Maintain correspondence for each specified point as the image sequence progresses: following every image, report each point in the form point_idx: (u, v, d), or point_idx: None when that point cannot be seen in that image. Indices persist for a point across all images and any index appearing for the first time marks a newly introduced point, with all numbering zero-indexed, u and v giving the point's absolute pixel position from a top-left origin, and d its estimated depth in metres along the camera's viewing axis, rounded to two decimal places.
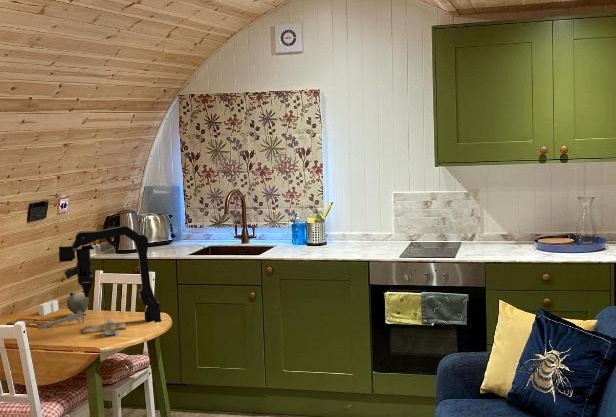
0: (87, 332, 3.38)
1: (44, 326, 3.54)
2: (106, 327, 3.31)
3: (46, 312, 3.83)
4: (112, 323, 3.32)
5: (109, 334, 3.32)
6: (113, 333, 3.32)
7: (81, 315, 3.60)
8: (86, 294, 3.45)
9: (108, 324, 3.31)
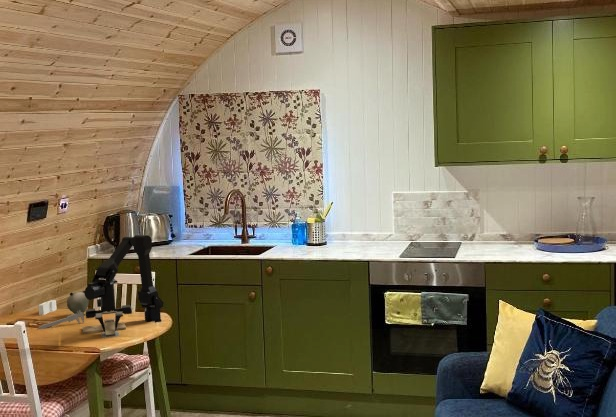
0: (87, 332, 3.38)
1: (44, 326, 3.54)
2: (106, 327, 3.31)
3: (45, 312, 3.83)
4: (112, 323, 3.32)
5: (109, 334, 3.32)
6: (113, 333, 3.32)
7: (81, 315, 3.60)
8: (103, 329, 3.34)
9: (108, 324, 3.31)
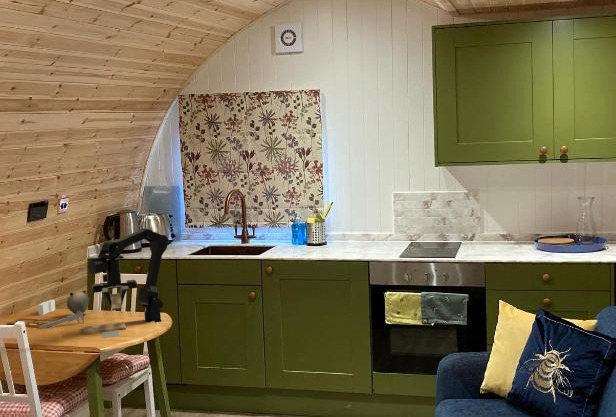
0: (87, 332, 3.38)
1: (44, 326, 3.54)
2: (112, 301, 3.40)
3: (45, 312, 3.84)
4: (118, 297, 3.41)
5: (115, 308, 3.41)
6: (119, 307, 3.41)
7: (81, 315, 3.60)
8: None
9: (114, 298, 3.40)
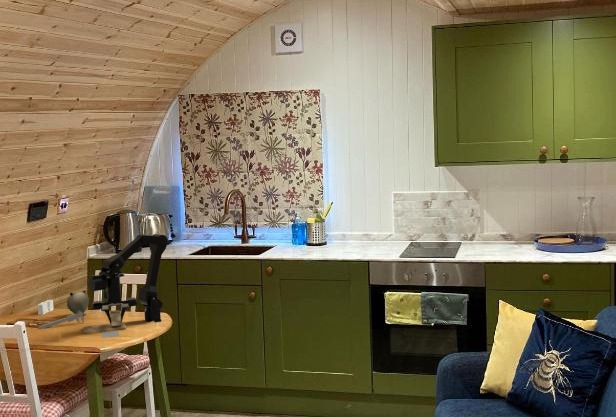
0: (87, 332, 3.38)
1: (44, 326, 3.54)
2: (112, 318, 3.42)
3: (44, 311, 3.84)
4: (118, 314, 3.43)
5: (115, 325, 3.43)
6: (119, 324, 3.43)
7: (81, 315, 3.60)
8: (109, 320, 3.46)
9: (114, 315, 3.43)
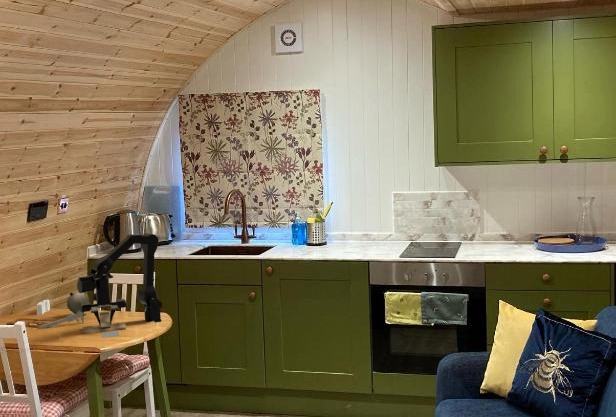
0: (87, 332, 3.38)
1: (43, 326, 3.54)
2: (101, 319, 3.41)
3: (43, 311, 3.85)
4: (107, 316, 3.42)
5: (104, 326, 3.42)
6: (108, 325, 3.42)
7: (81, 315, 3.60)
8: (98, 322, 3.44)
9: (103, 317, 3.41)
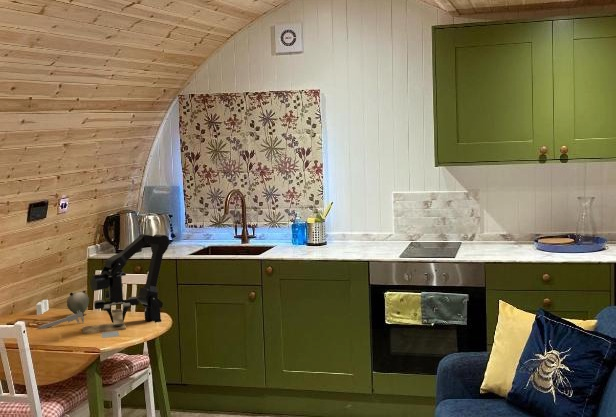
0: (87, 332, 3.38)
1: (43, 326, 3.53)
2: (114, 317, 3.43)
3: (42, 311, 3.85)
4: (120, 313, 3.43)
5: (117, 324, 3.43)
6: (121, 323, 3.44)
7: (80, 315, 3.60)
8: (111, 320, 3.46)
9: (116, 314, 3.43)
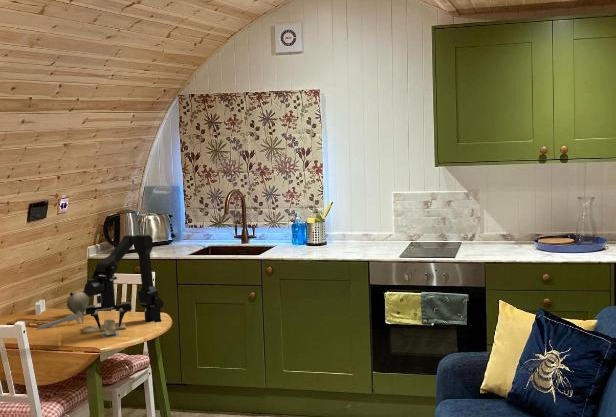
0: (87, 332, 3.38)
1: (43, 326, 3.53)
2: (106, 327, 3.31)
3: (41, 311, 3.85)
4: (112, 323, 3.32)
5: (109, 334, 3.32)
6: (113, 333, 3.32)
7: (80, 315, 3.60)
8: None
9: (108, 324, 3.31)
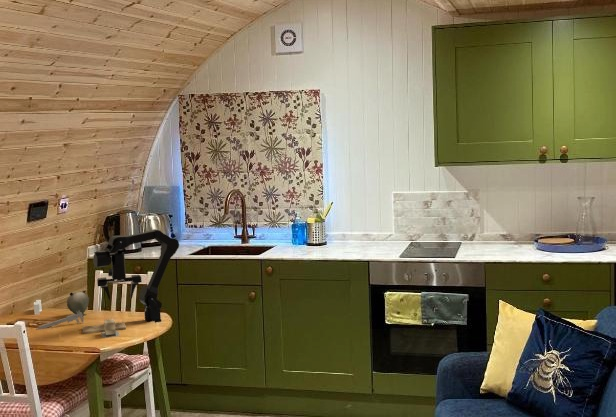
0: (87, 332, 3.38)
1: (43, 326, 3.53)
2: (106, 327, 3.31)
3: None
4: (112, 323, 3.32)
5: (109, 334, 3.32)
6: (113, 333, 3.32)
7: (80, 315, 3.60)
8: (108, 297, 3.49)
9: (108, 324, 3.31)
